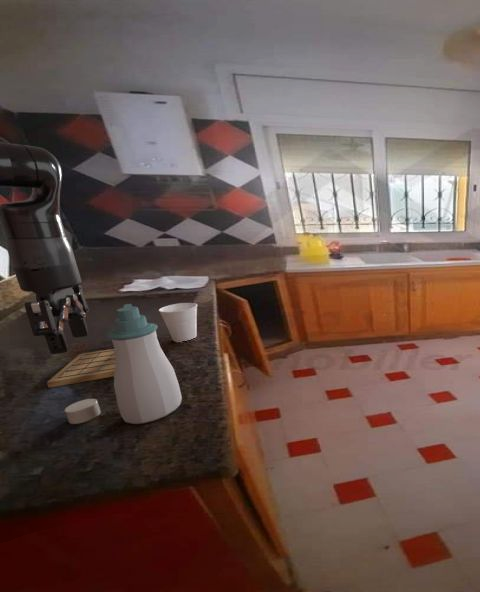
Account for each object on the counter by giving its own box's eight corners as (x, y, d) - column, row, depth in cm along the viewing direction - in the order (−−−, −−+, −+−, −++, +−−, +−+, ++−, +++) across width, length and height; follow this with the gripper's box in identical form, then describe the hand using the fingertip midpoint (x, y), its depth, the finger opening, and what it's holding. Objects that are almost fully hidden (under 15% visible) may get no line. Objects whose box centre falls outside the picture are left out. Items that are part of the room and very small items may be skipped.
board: (48, 388, 75) (46, 381, 74) (81, 358, 89) (79, 353, 89) (140, 371, 82) (139, 366, 82) (157, 347, 97) (156, 342, 96)
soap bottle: (179, 392, 73) (158, 298, 67) (185, 412, 66) (162, 309, 60) (122, 409, 67) (93, 308, 61) (122, 433, 60) (89, 321, 54)
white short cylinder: (63, 426, 62) (59, 414, 61) (75, 413, 66) (71, 402, 65) (95, 420, 64) (91, 408, 63) (104, 407, 68) (101, 396, 67)
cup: (171, 335, 105) (164, 304, 102) (206, 331, 109) (200, 301, 106) (161, 347, 97) (153, 313, 94) (199, 342, 100) (193, 309, 97)
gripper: (38, 258, 62) (63, 335, 66) (-14, 271, 50) (21, 363, 54) (90, 256, 65) (110, 329, 70) (53, 267, 53) (81, 354, 57)
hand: (71, 344), depth 62 cm, fingers open, 8 cm apart
